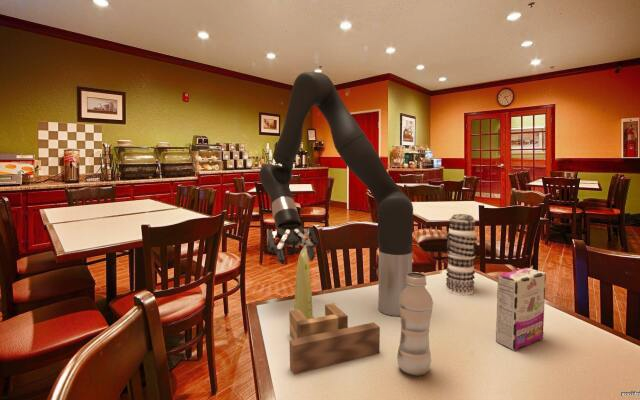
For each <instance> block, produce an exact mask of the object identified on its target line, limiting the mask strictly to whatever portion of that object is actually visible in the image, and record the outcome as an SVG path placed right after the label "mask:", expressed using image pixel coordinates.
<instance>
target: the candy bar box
mask: <svg viewBox="0 0 640 400" xmlns="http://www.w3.org/2000/svg"><path fill="white" fill-rule="evenodd" d="M546 275H547V272H544V271H542V270H538V269H534V268H530V267H524V268H521V269H516V270H513V271H509V272H506V273H502V274H498V275H497V290H496V291H497V294H496V296H497V297H496V327H495V343H497V344H499V345H501V346H504V347H506V348H508V349H509V350H512V351H513V352H515V351H517V350H521V349H522V348H525V347H527V346H530V345H532V344H534V343H537V342H538V341H540V340H543V339H544V320H545V318H544V317H545V299H546V278H547V277H546Z"/></svg>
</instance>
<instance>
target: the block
mask: <svg viewBox="0 0 640 400" xmlns="http://www.w3.org/2000/svg"><path fill="white" fill-rule="evenodd" d="M288 312H289V313H288V314H289V319H288V320H289V335H290V337H291V340H292V339H296V338H301V337H306V336H311V335H316V334H320V333H325V332H330V331H335V330H339V329H344V328H349V327H348V325H349V322H348V321H349V316H348V315H347V313H345V311H343V310H342V309H341V308H340V307H339V306H338V305H336V304H335V303H327V304H324V316H319V317H314V318H313V317H312V319H306V317H305V316H304V315H303V314H302V312H301V311H300V310H299V309H298V310H295V309H293V310H289V311H288Z"/></svg>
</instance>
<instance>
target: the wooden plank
mask: <svg viewBox="0 0 640 400" xmlns="http://www.w3.org/2000/svg"><path fill="white" fill-rule="evenodd" d="M380 329H381V328H380V326H379V325H378V324H377V323H375V322H369V323H365V324H363V323H362V324H359V325H354V326H350V327H348V328H344V329H339V330H335V331H330V332H325V333H320V334H316V335H311V336H306V337H301V338H296V339H292V338H291V339H289V342H288V343H289V369H290V370H291V372H292V373H293V375H296V374H301V373H304V372H308V371H312V370H316V369H320V368H324V367H327V366H332V365H336V364H340V363H344V362H348V361H352V360H356V359H360V358H363V357H364V358H365V357H369V356H372V355H376V354H380V352H381V351H380V342H381V340H380V337H381V336H380V333H381V330H380Z"/></svg>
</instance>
